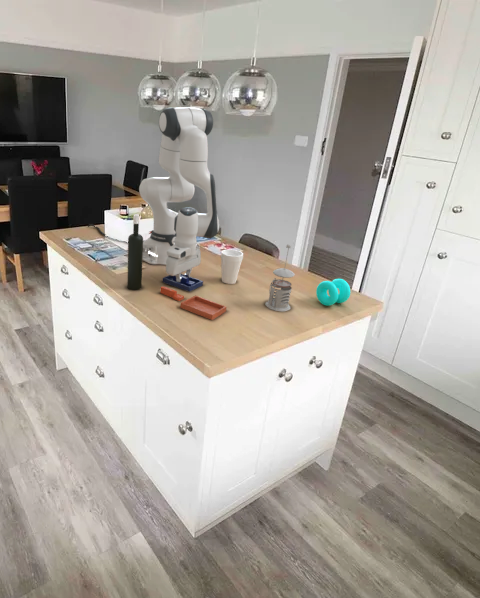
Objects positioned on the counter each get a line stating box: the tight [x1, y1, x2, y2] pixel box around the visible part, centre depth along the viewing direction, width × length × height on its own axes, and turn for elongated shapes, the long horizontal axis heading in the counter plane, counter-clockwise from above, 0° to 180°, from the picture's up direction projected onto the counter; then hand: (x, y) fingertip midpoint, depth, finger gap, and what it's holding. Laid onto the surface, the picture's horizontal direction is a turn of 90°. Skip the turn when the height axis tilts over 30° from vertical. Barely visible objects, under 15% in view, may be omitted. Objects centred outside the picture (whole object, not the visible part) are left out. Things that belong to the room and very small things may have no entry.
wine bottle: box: [126, 213, 144, 291], centre depth 163 cm, size 6×6×30 cm
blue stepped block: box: [173, 275, 195, 287], centre depth 176 cm, size 10×3×3 cm, turn 54°
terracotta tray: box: [179, 295, 228, 321], centre depth 155 cm, size 14×10×2 cm
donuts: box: [315, 278, 351, 307], centre depth 167 cm, size 10×10×10 cm
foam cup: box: [220, 249, 244, 285], centre depth 181 cm, size 10×9×13 cm
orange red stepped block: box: [160, 285, 185, 302], centre depth 164 cm, size 10×3×3 cm, turn 53°
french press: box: [265, 243, 296, 312], centre depth 157 cm, size 10×12×25 cm
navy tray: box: [162, 273, 204, 292], centre depth 176 cm, size 14×10×2 cm
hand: (182, 279), depth 176 cm, fingers open, 4 cm apart
